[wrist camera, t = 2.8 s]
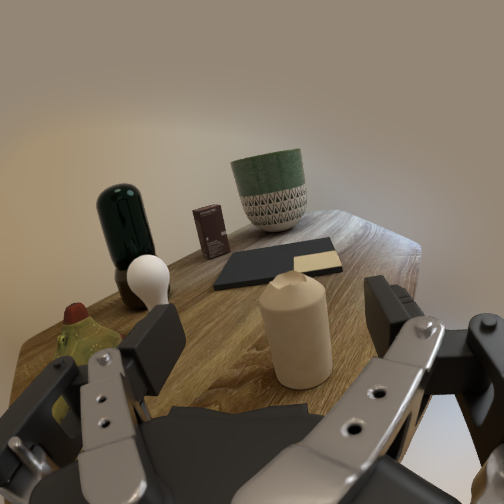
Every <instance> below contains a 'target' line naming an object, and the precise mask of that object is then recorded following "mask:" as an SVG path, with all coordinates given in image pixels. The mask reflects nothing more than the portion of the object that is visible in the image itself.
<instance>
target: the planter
mask: <svg viewBox="0 0 504 504" xmlns="http://www.w3.org/2000/svg"><path fill="white" fill-rule="evenodd" d="M231 167H232V171H233V175H234V178H235V182H236V185H237V189H238V192H239V196H240V199H241V203H242V206H243V209H244V211H245V213H246V215H247V217H248V219H249V220H250V221H251V223H253V224H254V225H255V226H256V227H258V228H259V229H261V230H264V231H267V232H280V231H284V230H287V229H290V228H292V227H293V226H295V225H296V224H297V223H298V222H299V221H300V219H301V218H302V216H303V214H304V212H305V209H306V201H307V195H306V185H305V178H304V170H303V163H302V156H301V150H300V149H292V150H285V151H279V152H274V153H268V154H264V155H258V156H254V157H249V158H244V159H240V160H236V161H233V162H231Z"/></svg>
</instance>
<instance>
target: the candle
mask: <svg viewBox="0 0 504 504" xmlns="http://www.w3.org/2000/svg"><path fill="white" fill-rule="evenodd" d="M259 303H260V307H261V312H262V316H263V320H264V325H265V329H266V334H267V338H268V342H269V347H270V351H271V356H272V360H273V364H274V369H275V372H276V376H277V378H278V380H279V382H280V383H281V384H283V385H284V386H286V387H288V388H292V389H308V388H312V387H315V386H317V385H319V384H321V383H323V382H324V381H325V380H326V379H327V378H328V377H329V376H330V374H331V371H332V354H331V343H330V332H329V322H328V313H327V304H326V296H325V288H324V286H323V285H322V284H320V283H319V282H318V281H316V280H314V279H313V278H310V277H308V276H306V275H304V274H302V273H299V272H297V271H289V272H286V273H283V274H279V275H277V276H276V277H275V279H274V280H273V281H271V282H269V284H268V286H267V287H266V289H265V290H264V291H263V293H262V294H261V296H260V298H259Z"/></svg>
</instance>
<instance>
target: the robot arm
mask: <svg viewBox="0 0 504 504" xmlns="http://www.w3.org/2000/svg"><path fill="white" fill-rule="evenodd" d="M364 295H365V316H366V323H367V327H368V330H369V333H370V335H371V338H372V341H373V343H374V346H375V349H376V352H377V354H378V357H376V356H375V357H373V358H372V359H371V360H370V361H369V362H368V363H367V365H366V366H365V368H364V369H363V370H362V372H361V373H360V374H359V375H358V377H357V378H356V379H355V381H354V382H353V383H352V384H351V386H350V387H349V388H348V389H347V391H346V392H345V393H344V394H343V396H342V397H341V398H340V399H339V400H338V402H337V403H336V404H335V405H334V406H333V408H332V409H331V410H330V411H329V412H328V413H327V414H326V416H323V415H317V414H310V413H308V407H307V403H304V404H294V405H282V406H270V407H266V408H262V409H257V410H253V411H248V412H243V413H238V414H229V413H224V412H219V411H215V410H210V409H206V408H201V407H177V406H172V408H171V410H170V412H169V414H168V415H167V416H162V417H157V418H154V419H152V417H151V415H150V412H149V409H148V406H147V404H146V402H145V400H144V396H145V395H146V396H158V394H159V393H160V391H161V389H162V387H163V385H164V384H165V382H166V380H167V378H168V376H169V375H170V373H171V371H172V369H173V367H174V366H175V364H176V362H177V360H178V358H179V357H180V355H181V353H182V351H183V349H184V347H185V344H186V338H185V333H184V330H183V327H182V325H181V322H180V319H179V316H178V313H177V310H176V307H175V306H174V305H173V304H172V303H170V304H160V305H155V306H154V308H153V309H152V310H151V311H150V312H149V313H148V314H147V316H146V317H145V318H144V319H142V320H141V321H139V322H138V323H137V324H136V325H135V327H134V328H133V330H131V331H130V332H129V333H128V334H129V335H127V336H126V337H125V338H124V339H123V340H122V341H121V343H120V344H119V345H118V346H117V347H116V348H106V349H103V350H100V351H98V352H96V353H95V354H94V355H92V356H91V357H90V359H89V361H88V364H86V365H80V366H77V364H76V362H75V360H74V359H73V357H72V356H69V355H66V356H61V357H59V358H56V359H55V360H53V361H52V362H51V363H50V364H49V365H48V366H47V367H46V368H45V369H44V370H43V371H42V372H41V373H40V374H39V375H38V376H37V377H36V378H35V380H34V381H33V382H32V383H31V384H30V385H29V386H28V387H27V388H26V389H25V390H24V392H23V393H22V394H21V395H20V396H19V397H18V398H17V399H16V401H15V402H14V403H13V404H12V405H11V406H10V407H9V409H8V410H7V411H6V412H5V413H4V415H3V416H2V417H1V418H0V494H1V495H2V496H3V497H4V498H6V499H7V500H8V501H9V502H10V503H12V504H462V503H461V502H459V501H458V500H457V499H456V498H454V497H453V496H451V495H449V494H448V493H446V492H444V491H442V490H441V489H439V488H438V487H436V486H434V485H433V484H431V483H430V482H428V481H426V480H425V479H423V478H422V477H420V476H418V475H417V474H415V473H414V472H412V471H411V470H409V469H408V468H406V467H405V466H403V465H402V464H400V463H401V461H402V459H403V457H404V455H405V453H406V451H407V449H408V447H409V444H410V442H411V440H412V438H413V435H414V433H415V431H416V430H417V427H418V425H419V424H420V421H421V419H422V417H423V415H424V413H425V411H426V409H427V406H428V404H429V402H430V400H431V398H432V395H447V394H455V397H456V399H457V402H458V404H459V406H460V409H461V411H462V413H463V416H464V419H465V421H466V424H467V427H468V429H469V432H470V435H471V437H472V440H473V443H474V446H475V449H476V452H477V455H478V457H479V460H480V464H481V466H482V468H481V469H480V471H479V472H478V474H477V475H476V477H475V478H474V480H473V483H472V488H471V494H472V498H471V503H470V504H504V319H503V318H501V317H500V316H498V315H494V314H489V313H484V314H479V315H476V316H474V317H473V318H472V319H471V320H470V322H469V327H468V329H465V330H445V326H444V324H443V322H442V321H440V320H439V319H437V318H434V317H430V316H425V315H424V313H423V312H422V311H421V309H420V308H419V307H418V305H417V304H416V302H414V300H413V298H412V297H410V294H409V293H408V292H407V291H406V289H404V288H402V287H401V286H399V285H397V284H396V285H389V283H388V282H387V281H386V279H385V278H384V276H383V275H378V276H373V277H367V278H364ZM61 395H62V397H63V398H64V400H65V401H66V403H67V404H68V406H69V407H70V410H69V411H68V413H67V414H66V416H65V417H64V418H63V420H62V421H61V423H60V424H58V423H57V421H56V420H55V419H54V417H53V415H52V407H53V405H54V403H55V402H56V401H57V400H58V398H59V397H60V396H61ZM82 447H83V451H82V452H80V451H81V449H82ZM79 452H80V453H79ZM78 454H79V455H78ZM77 456H78V460H76V461H75V459H76V458H77Z"/></svg>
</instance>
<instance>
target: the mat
mask: <svg viewBox="0 0 504 504" xmlns="http://www.w3.org/2000/svg"><path fill="white" fill-rule="evenodd" d="M289 271H297V272H299V273H302V274H304V275H306V276H308V277H312V276H318V275H325V274H331V273H337V272H343V270H342V264H341V262H340V260H339V257H338V255H337V253H336V250H335V249H334V246H333V244H332V242H331V240H330V237H327V238H321V239H315V240H308V241H302V242H296V243H290V244H284V245H278V246H272V247H266V248H260V249H254V250H248V251H241V252H235V253H233V254H232V255H231V257H230V259H229V260H228V262H227V263H226V265H225V267H224V268H223V270H222V272H221V273H220V275H219V277H218V278H217V280H216V282H215V283H214V285H213V287H214V290H222V289H230V288H237V287H244V286H252V285H259V284H266V283H269V282H271V281H273V280H274V279H275V277H276V276H277V275H279V274H283V273H286V272H289Z"/></svg>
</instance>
